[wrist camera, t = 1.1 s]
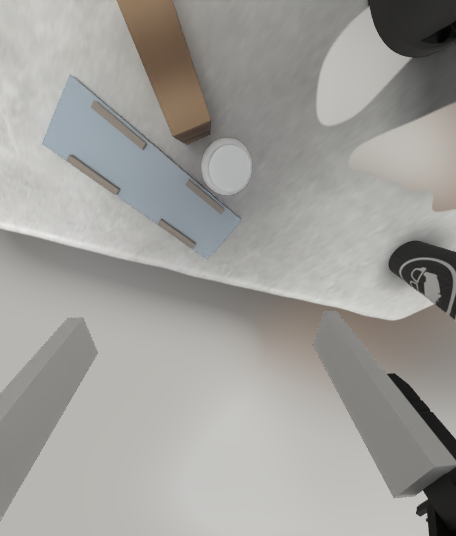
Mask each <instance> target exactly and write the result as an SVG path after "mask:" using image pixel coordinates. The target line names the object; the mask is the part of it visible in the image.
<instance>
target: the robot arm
mask: <svg viewBox="0 0 456 536" xmlns="http://www.w3.org/2000/svg"><path fill="white" fill-rule="evenodd" d="M369 4H370V10H371V14H372V18H373V22H374V25H375V28H376V30H377V32H378V34H379V36H380V37H381V38H382V40H383V42H384V43H385V44H386V45H387V46H388V47H389V48H390V49H391V50H393V51H394V52H396V53H398V54H400V55H403V56H407V57H423V56H427V55H431V54H433V53H436V52H438V51H440V50H442V49H444V48H447V47H449V46H451V45H453V44H455V43H456V0H369ZM313 346H314V348H315V350H316V352H317V354H318V356H319V358H320V360H321V361H322V363H323V365H324V367H325V369H326V371H327V373H328V375H329V377H330V378H331V380H332V382H333V384H334V386H335V388H336V390H337V392H338V393H339V395H340V397H341V399H342V401H343V403H344V405H345V407H346V409H347V411H348V412H349V414H350V416H351V418H352V420H353V422H354V424H355V426H356V427H357V429H358V431H359V433H360V435H361V437H362V439H363V441H364V443H365V444H366V446H367V448H368V450H369V452H370V454H371V456H372V458H373V459H374V461H375V463H376V465H377V467H378V469H379V471H380V473H381V474H382V476H383V478H384V480H385V482H386V484H387V486H388V488H389V490H390V492H391V494H392V495H393V497H394V498H402V497H412V496H415V495H417V494H418V493H420V492H421V491H422V490H423V491H424V493H425V494H426V496H427V498H428V500H426V501H425V502H423V503H422V504H420V505H419V506H418V507H417V511H416V514H418V515H419V516H422V515H424V514H425V513H427V516H428V518H427V519H426V521H427V522H428V527H429V536H456V439H455V438H454V437H453V436H452V435H451V433H450V432H449V431H448V430H447V429H446V427H445V426H444V425H443V424H442V423H441V422H440V421H439V419H438V418H437V417H436V416H435V415H434V413H433V412H431V411H430V409H429V408H428V406H427V405H426V404H425V403H424V402H423V401H421V400H420V397H419V396H418V395H417V394H416V393H415V391H414V390H413V389H412V388H411V387H410V386H409V384H407V383H406V382H405V381H403V380H402V379H401V378H399V376H397V375H396V374H395V373H394V374H386V373H385V371H384V370H383V369H382V368H381V366H380V365H379V364H378V363H377V361H376V360H375V359H374V358H373V356H372V355H371V354H370V353H369V351H368V350H367V349H366V347H365V346H364V345H363V344H362V342H361V341H360V340H359V339H358V337H357V336H356V335H355V334H354V333H353V331H352V330H351V329H350V327H349V326H348V325H347V324H346V323H345V321H344V320H343V319H342V317H341V316H340V315H339V314H338V312H336V311H325V312H323V315H322V318H321V321H320V324H319V327H318V330H317V333H316V336H315V339H314V342H313ZM97 354H98V352H97V350H96V347H95V345H94V342H93V340H92V337H91V335H90V333H89V330H88V328H87V326H86V323H85V321H84V319H83V318H67V319H66V321H65V322H64V323H63V324H62V325H61V326H60V327H59V328H58V330H57V331H56V332H55V333H54V334H53V335H52V336H51V337H50V338H49V340H48V341H47V342H46V343H45V344H44V346H42V347H41V349H40V350H39V351H38V352H37V353H36V354H35V355H34V356H33V358H32V359H31V360H30V361H29V362H28V363H27V364H26V366H25V367H24V368H23V369H22V370H21V371H20V372H19V373H18V374H17V376H16V377H15V378H14V379H13V380H12V381H11V382H10V383H9V384H8V386H7V387H6V388H5V389H4V390H3V391H2V392H1V394H0V521H1V519H2V517H3V516H4V514H5V512H6V510H7V509H8V507H9V505H10V504H11V502H12V500H13V498H14V497H15V495H16V493H17V491H18V490H19V488H20V486H21V485H22V483H23V481H24V479H25V478H26V476H27V474H28V472H29V471H30V469H31V467H32V466H33V464H34V462H35V460H36V459H37V457H38V455H39V454H40V452H41V450H42V448H43V446H44V445H45V443H46V441H47V440H48V438H49V436H50V435H51V433H52V431H53V429H54V428H55V426H56V424H57V423H58V421H59V419H60V417H61V416H62V414H63V412H64V411H65V409H66V407H67V405H68V404H69V402H70V400H71V398H72V397H73V395H74V393H75V392H76V390H77V388H78V386H79V385H80V383H81V381H82V379H83V378H84V376H85V374H86V373H87V371H88V369H89V367H90V366H91V364H92V362H93V361H94V359H95V357H96V355H97Z"/></svg>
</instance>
